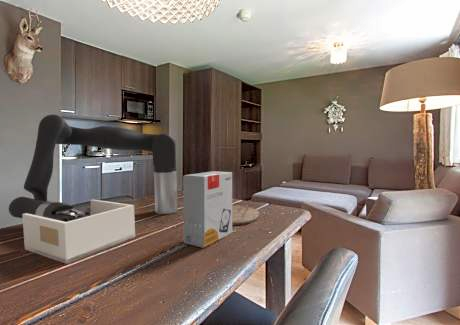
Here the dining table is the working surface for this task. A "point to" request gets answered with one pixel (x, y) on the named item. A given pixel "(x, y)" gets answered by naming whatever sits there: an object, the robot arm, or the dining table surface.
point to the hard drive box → (207, 207)
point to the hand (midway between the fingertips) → (89, 220)
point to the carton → (79, 232)
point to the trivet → (243, 215)
